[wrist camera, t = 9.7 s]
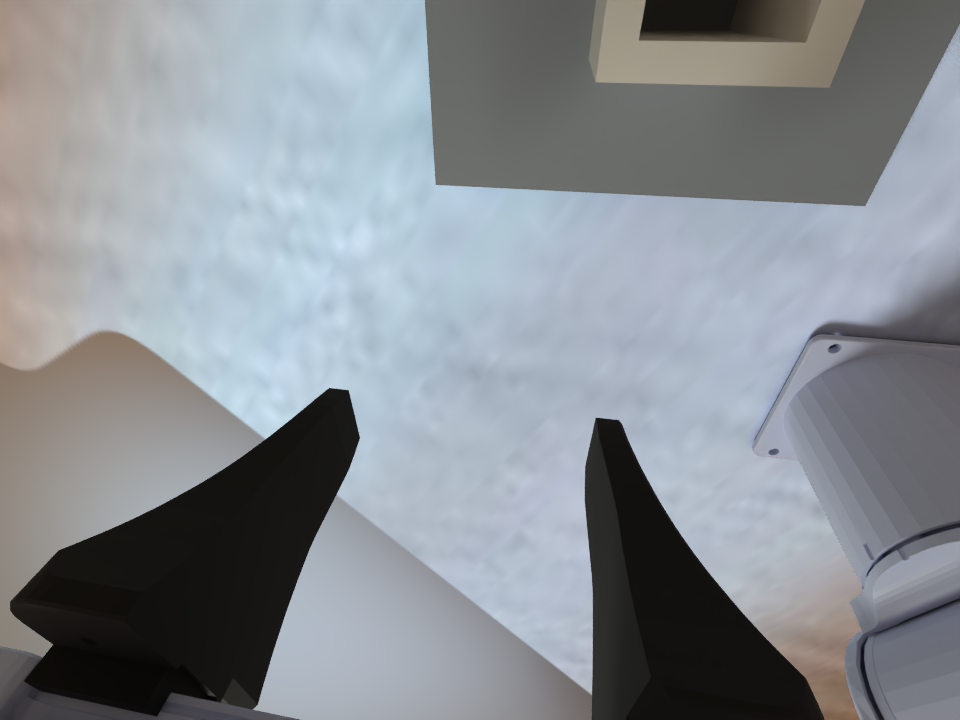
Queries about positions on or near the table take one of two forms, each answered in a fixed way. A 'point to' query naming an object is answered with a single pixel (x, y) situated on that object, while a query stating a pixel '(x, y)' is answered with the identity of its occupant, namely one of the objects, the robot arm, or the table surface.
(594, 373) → the table surface
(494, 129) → the post board
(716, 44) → the sleeve
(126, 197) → the table surface
